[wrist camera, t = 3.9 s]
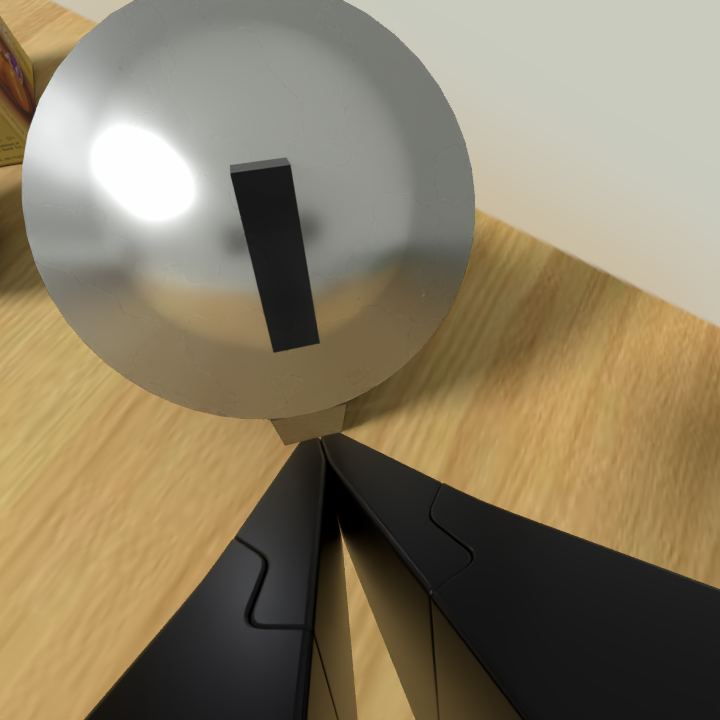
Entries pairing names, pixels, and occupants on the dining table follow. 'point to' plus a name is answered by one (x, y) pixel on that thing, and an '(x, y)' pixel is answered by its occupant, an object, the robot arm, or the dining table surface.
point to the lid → (248, 201)
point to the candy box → (14, 98)
